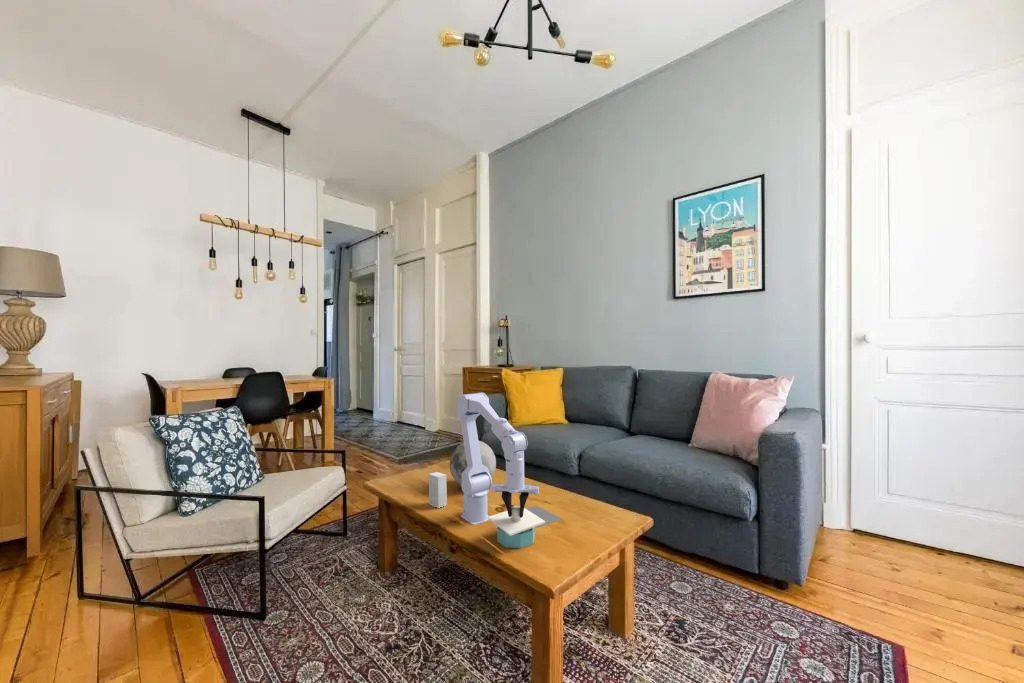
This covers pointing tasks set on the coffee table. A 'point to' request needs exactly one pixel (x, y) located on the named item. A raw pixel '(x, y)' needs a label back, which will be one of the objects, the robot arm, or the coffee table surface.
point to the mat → (544, 515)
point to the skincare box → (437, 489)
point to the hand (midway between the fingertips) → (515, 515)
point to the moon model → (460, 462)
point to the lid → (516, 521)
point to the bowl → (516, 538)
